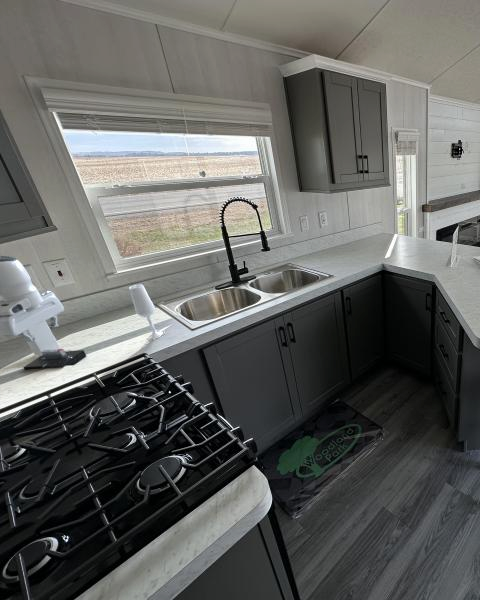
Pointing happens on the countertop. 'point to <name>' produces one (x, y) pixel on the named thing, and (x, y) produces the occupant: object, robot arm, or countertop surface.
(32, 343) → the milk
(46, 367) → the tap plate
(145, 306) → the champagne flute
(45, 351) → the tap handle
